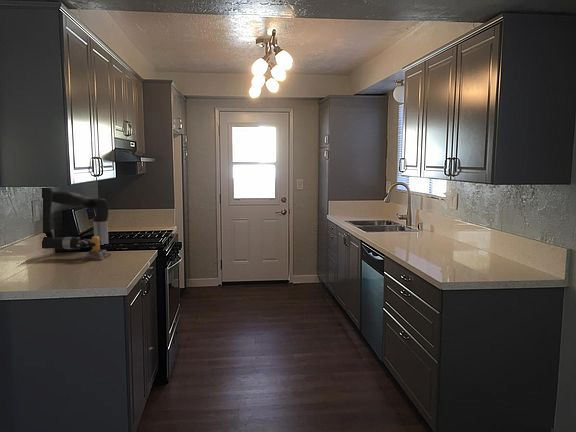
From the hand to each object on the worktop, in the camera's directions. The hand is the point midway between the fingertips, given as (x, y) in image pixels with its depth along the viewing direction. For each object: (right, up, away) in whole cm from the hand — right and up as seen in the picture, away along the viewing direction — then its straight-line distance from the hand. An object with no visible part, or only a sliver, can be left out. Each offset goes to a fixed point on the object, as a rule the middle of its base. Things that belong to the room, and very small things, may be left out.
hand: (97, 243), depth 294 cm
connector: (-1, -8, +1) cm, 8 cm away
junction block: (-1, -9, +1) cm, 9 cm away
